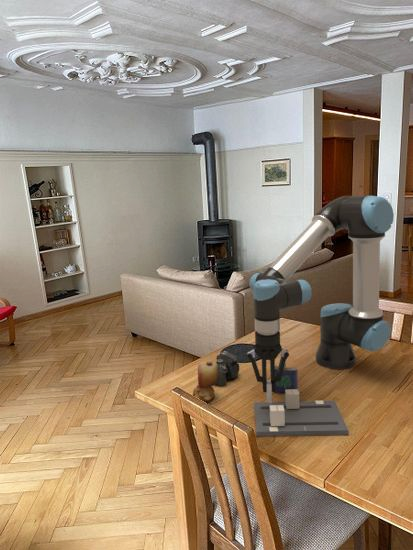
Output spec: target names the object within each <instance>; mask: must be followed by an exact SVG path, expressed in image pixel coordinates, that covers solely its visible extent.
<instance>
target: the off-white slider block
mask: <svg viewBox="0 0 413 550" xmlns="http://www.w3.org/2000/svg"><path fill="white" fill-rule="evenodd" d="M284 399H285V400H284V402H285V404H286V409H299V401H300V391H299V388H298V389H289V390H285V393H284Z"/></svg>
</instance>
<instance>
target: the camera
mask: <svg viewBox="0 0 413 550" xmlns="http://www.w3.org/2000/svg"><path fill="white" fill-rule="evenodd" d="M215 363H217V365H218V378H217V381H216V383H215V384H214V385H213V386H218V387H225V386H226V384H227V380H231V379H235V378H236V377H237V376H238V375H239V372H240V364H239V363H238V356H237V355H235V354H233V353H231V352H228V351H225V350H224V351H222V352H220V353H219V354H217V355H216V361H215Z"/></svg>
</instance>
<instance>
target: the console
mask: <svg viewBox="0 0 413 550" xmlns="http://www.w3.org/2000/svg"><path fill="white" fill-rule="evenodd" d="M270 405H283V406H284V414H285V426H271V424H270ZM253 414H254V422H255V431H256V433H255V434H256V437H288V436H289V437H292V436H293V437H294V436H295V437H297V436H298V437H299V436H300V437H302V436H306V437H308V436H311V437H312V436H348V435H349V429H348V427H347V424H346V422H345V420H344V418H343V416H342V413H341V411H340V409H339V407H338V405H337V402H336V401H335V400H301V401H300V400H299V409H286V404H285V401H272V403H267V401H253Z"/></svg>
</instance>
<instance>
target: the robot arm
mask: <svg viewBox="0 0 413 550" xmlns="http://www.w3.org/2000/svg"><path fill="white" fill-rule="evenodd" d="M394 214H395V213H394V209H393V207H392V205H391V203H390V202H389V201H388V200H387V198H386V197H383V196H376V195H343V196H340V197H337V198H335V199H333V200H332V201H330V202H329V203H327V204H326V205H325V206H323V207H322V208H321V209H320V210H319V211H318V212H316V213H315V214H314V215H313V217H312V219H311V223H310V224H309V225H308V226H307V227H306V228H305V229H304V230H303V231H302V232H301V233H300V234H299V235H298V236H297V237H296V238H295V239H294V241H293V242H292V243H291V244H290V245H289V246H288V247H287V248H286V249H285V250H284V251H283V252H282V253H281V254H280V255H279V256H278V257H277V258H276V259H275V261H273V262H272V263H271V264H270V265H269V267H267V268H266V270H264V272H257V273H254V274H253V275H252V276H251V278H250V280H249V284H248V285H249V289H250V291H251V292H252V293H253V294H252V296H253V297H252V298H253V314H254V330H255V331H254V346H253V349H252V350H248V351H247V353H246V354H247V356H246V357H247V358H248V359H249V360H250V362H251V364H252V368H253V372H254V376H255V379H256V382H258V383H262V392H263V393H266V402H267V403H272V402H273V394H272V393H274V392H275V383H276V382H277V381H278V382H280V381H281V378H282V374H283V370H284V366H285V363H286V360H288V358H289V357H290V352H289V350H288V349H284V348H283V347H282V345H281V332H280V329H281V324H280V323H281V322H280V317H281V316H280V314H281V312H280V311H281V310H283V309H287V308H292V307H294V306H301V305H303V304H305V303H308V302H309V301H310V300H311V298H312V290H313V289H312V286H311V285H310V283H309V282H308V281H307V280H304V279H296V280H289V279H290V278H291V277H292V275H294V274H295V273H296V271H297V270H298V269H299V268H300V267H301V266H302V265H303V264H304V263H305V262H306V260H308V259H309V258H310V256H311V255H312V254H313V253H315V252H316V250H317V249H318V248H319V247H320V246H321V245H322V244H323V242H324V241H326V239H328V237H333V236H334V235H335V234H336V233H337V232H339V231H340V230H347V231H348V232H347V233H348V239H350V240H351V241H352V304H350V303H346V302H345V303H342V302H341V303H338V302H337V303H331V304H326V305H324V306H322V307H321V309H320V316H319V318H320V321H319V322H320V323H319V324H320V325H319V328H320V343H319V345H318V347H317V349H316V353H315V361H316V363H317V364H319V365H320V366H322V367H323V368H324V367H325V368H327V369H333V370H346V369H349V368H352V367H354V366H355V365H356V363H357V362H356V361H357V356H356V354H355V350H354V348H353V346H356V347H359V348H361V349H362V350H366V351H369V352H370V351H371V352H377V351H379V350H381V349H383V347H384V346H385V345H386V344H387V342H388V341H389V339H390V336H391V330H392V328H391V325H390V323H389V322H388V321H387V320H384V311H383V310H382V309H381V308H380V267H381V266H380V264H381V263H380V262H381V240H383V238H385V237H386V232H388V231H390V229H391V228H392V225H393V224H394V223H393V222H394V217H395V216H394ZM256 355H257V356H258V357H259V359H260V360H261V374H262V376H261V375H260V371H259V368H258V363H257V361H256ZM279 355H280V359H279V363H278V366H279V367H278V371H277V375H276V376H275V366H276V364H275V363H276V359H277V358H278V356H279ZM267 361H269V364H270V365H269V370H270V371H269V372H270V379H267V377H268V376H267Z"/></svg>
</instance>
